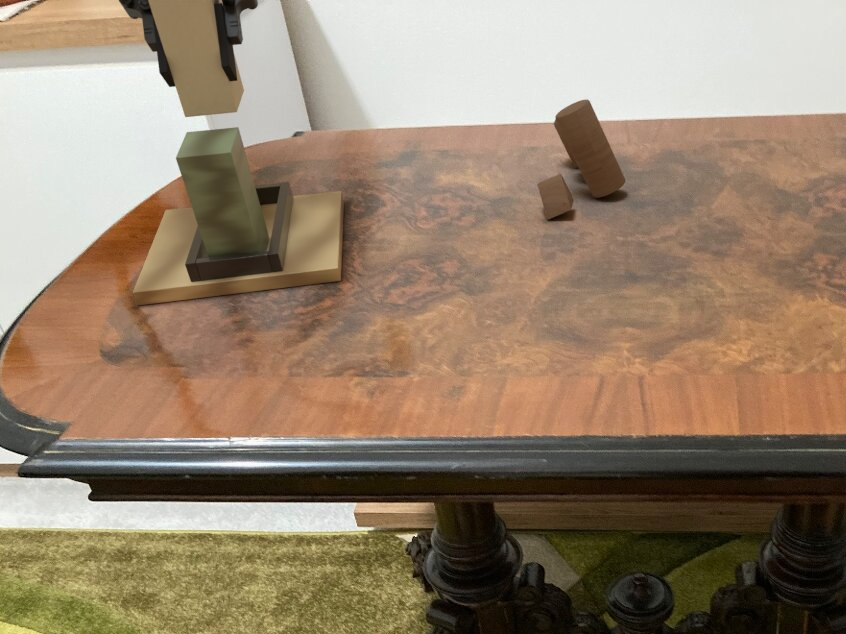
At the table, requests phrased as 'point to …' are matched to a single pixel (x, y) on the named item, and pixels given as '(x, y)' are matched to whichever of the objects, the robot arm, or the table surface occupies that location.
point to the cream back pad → (196, 56)
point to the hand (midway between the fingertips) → (199, 76)
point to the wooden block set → (581, 158)
